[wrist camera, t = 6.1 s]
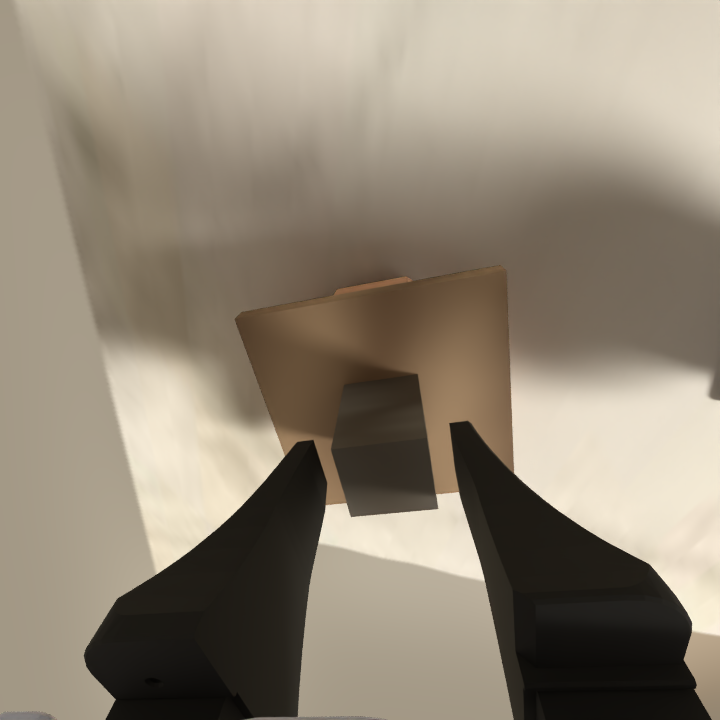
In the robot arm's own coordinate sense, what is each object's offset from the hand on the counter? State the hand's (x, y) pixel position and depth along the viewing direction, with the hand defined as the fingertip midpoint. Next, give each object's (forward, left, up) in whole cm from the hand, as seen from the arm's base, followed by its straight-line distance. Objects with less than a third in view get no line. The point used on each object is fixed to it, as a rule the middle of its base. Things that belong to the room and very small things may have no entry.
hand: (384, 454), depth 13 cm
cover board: (0, 0, -4) cm, 4 cm away
